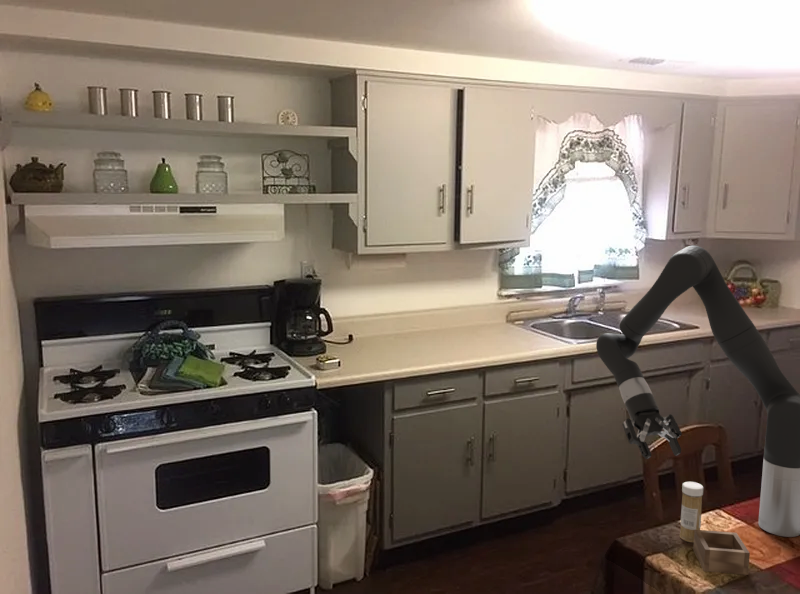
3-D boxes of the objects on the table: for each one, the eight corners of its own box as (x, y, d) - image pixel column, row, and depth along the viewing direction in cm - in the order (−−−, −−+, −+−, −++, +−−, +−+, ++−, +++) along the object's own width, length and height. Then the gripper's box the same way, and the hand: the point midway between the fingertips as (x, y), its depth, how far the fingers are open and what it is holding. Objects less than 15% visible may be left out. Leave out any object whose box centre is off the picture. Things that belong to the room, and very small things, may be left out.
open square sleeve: (734, 553, 154) (736, 532, 153) (748, 574, 145) (749, 553, 145) (693, 549, 156) (694, 529, 155) (703, 570, 147) (705, 549, 146)
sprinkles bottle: (703, 539, 160) (707, 486, 158) (692, 545, 158) (696, 490, 156) (686, 532, 164) (689, 479, 162) (675, 537, 162) (678, 483, 160)
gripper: (620, 393, 174) (645, 452, 164) (668, 389, 177) (695, 446, 168) (608, 407, 180) (631, 465, 170) (654, 403, 183) (680, 459, 174)
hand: (663, 456), depth 169 cm, fingers open, 8 cm apart
